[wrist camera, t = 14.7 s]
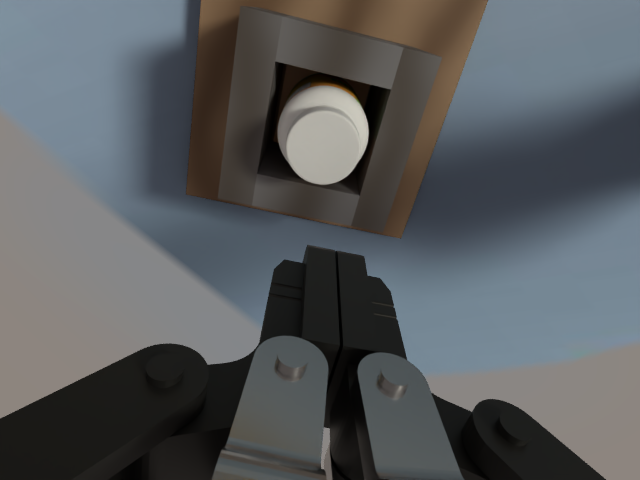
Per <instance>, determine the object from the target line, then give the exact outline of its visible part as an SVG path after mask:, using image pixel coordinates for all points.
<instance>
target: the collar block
mask: <svg viewBox="0 0 640 480" xmlns="http://www.w3.org/2000/svg"><path fill="white" fill-rule="evenodd" d="M487 2H488V0H201V7H200V20H199V33H198V46H197V59H196V72H195V85H194V98H193V110H192V123H191V136H190V149H189V162H188V175H187V188H186V194H187V195H192V196H197V197H201V198H206V199H211V200H216V201H221V202H226V203H231V204H235V205H240V206H245V207H250V208H255V209H260V210H265V211H270V212H274V213H279V214H284V215H289V216H294V217H299V218H304V219H308V220H313V221H318V222H323V223H328V224H333V225H338V226H343V227H347V228H352V229H357V230H362V231H367V232H372V233H377V234H381V235H386V236H391V237H396V238H401V237H402V234H403V232H404V229H405V226H406V224H407V221H408V218H409V215H410V213H411V210H412V207H413V204H414V202H415V199H416V196H417V193H418V191H419V188H420V185H421V183H422V180H423V177H424V174H425V172H426V169H427V166H428V163H429V161H430V158H431V155H432V152H433V150H434V147H435V144H436V142H437V139H438V136H439V133H440V131H441V128H442V125H443V122H444V120H445V117H446V114H447V111H448V109H449V106H450V103H451V101H452V98H453V95H454V92H455V90H456V87H457V84H458V81H459V79H460V76H461V73H462V70H463V68H464V65H465V62H466V60H467V57H468V54H469V51H470V49H471V46H472V43H473V40H474V38H475V35H476V32H477V29H478V27H479V24H480V21H481V19H482V16H483V13H484V10H485V8H486V5H487ZM287 64H289V65H293V66H297V67H301V68H305V69H309V70H313V71H317V72H321V73H325V74H329V75H334V76H338V77H342V78H346V79H350V80H354V81H358V82H362V83H366V84H370V87H369V91H368V95H367V99H366V102H365V106H364V113H365V115H366V119H367V122H368V130H369V135H368V143H367V146H366V149H365V152H364V154H363V156H362V157H361V159H360V160H359V162H358V163H357V165H356V166H355V168H354V169H353V171H352V172H351V173H350V174H349V175H348V176H347V177H345V178H344V179H342V180H340V181H338V182H336V183H332V184H326V185H319V184H314V183H311V182H308V181H306V180H304V179H302V178H301V177H300V176H298V175H297V174H296V173H295V172H294V170H293V169H292V167H291V166H290V164H289V163H288V162H287V160H286V159H285V157H284V156H283V154H282V152H281V149H280V146H279V143H277V142H273V140H274V135H275V129H276V123H277V117H278V112H279V106H280V100H281V95H282V89H283V83H284V77H285V72H286V66H287Z"/></svg>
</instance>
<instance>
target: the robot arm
mask: <svg viewBox="0 0 640 480" xmlns="http://www.w3.org/2000/svg"><path fill="white" fill-rule="evenodd" d="M393 306H394V304H393V300H392V296H391V291H390V290H389V289H388V288H387V286H386V285H385V284H384V283H383V281H382V280H381V279H380V278H377V277H372V276H367V270H366V264H365V258H364V256H361V255H356V254H351V253H346V252H341V251H336V252H335V250H331V249H326V248H321V247H316V246H311V245H307V247H306V251H305V255H304V259H303V263H299V262H294V261H289V260H283V261H282V262H281V263H280V264H279V265H278V266H277V267H276V268H275V269H274V272H273V277H272V282H271V287H270V291H269V296H268V301H267V306H266V311H265V316H264V321H263V326H262V331H261V337H260V342H259V344H258V346H257V347H256V349H255V350H254V351H253V352H252V353H250V354H249V355H248V356H246V357H244V358H242V359H240V360H237V361H233V362H229V363H222V364H211V365H207V363H206V361H205V360H204V358H203V357H202V356H201V355H200V354H199V353H198V352H196V351H195V350H193V349H191V348H189V347H186V346H183V345H178V344H159V345H153V346H150V347H147V348H144V349H142V350H140V351H137V352H135V353H133V354H131V355H129V356H127V357H125V358H123V359H121V360H119V361H117V362H115V363H113V364H111V365H109V366H107V367H105V368H103V369H101V370H99V371H97V372H95V373H93V374H91V375H89V376H86V377H85V378H82V379H80V380H78V381H76V382H74V383H72V384H70V385H68V386H66V387H64V388H62V389H60V390H58V391H56V392H54V393H52V394H50V395H48V396H46V397H44V398H42V399H39V400H38V401H35V402H33V403H31V404H29V405H27V406H25V407H23V408H21V409H19V410H17V411H15V412H13V413H11V414H9V415H7V416H5V417H3V418H1V419H0V480H606V479H604V478H603V477H602V476H601V475H600V474H599V473H597V472H596V471H595V470H594V469H593V468H591V467H590V466H589V465H587V463H585V462H584V461H583V460H582V459H581V458H580V457H578V456H577V455H576V454H575V453H573V452H572V451H571V450H570V449H569V448H568V447H566V446H565V445H564V444H563V443H562V442H560V441H559V440H558V439H557V438H556V437H554V436H553V435H552V434H551V433H550V432H548V431H547V430H546V429H545V428H543V427H542V426H541V425H540V424H539V423H538V422H537V421H535V420H534V419H533V418H532V417H531V416H529V415H528V414H527V413H525V412H524V411H522V410H521V409H519V408H518V407H516V406H514V405H512V404H510V403H507V402H504V401H501V400H495V399H487V400H483V401H481V402H479V403H478V404H477V405H476V406H475V408H474V410H473V411H472V412H471V411H468V410H466V409H464V408H462V407H459V406H457V405H455V404H452V403H450V402H448V401H445V400H443V399H441V398H439V397H437V396H436V395H434V394H433V393H431V391H430V388H429V386H428V383H427V381H426V379H425V377H424V376H423V374H422V373H421V372H420V371H419V369H418V368H417V367H415V366H414V365H413V364H412V363H410V362H409V361H407V357H406V353H405V349H404V345H403V341H402V337H401V333H400V328H399V324H398V320H397V319H396V317H397V316H396V312H395V308H393ZM324 427H326V428H330V444H329V447H328V449H327V452H326V455H325V459H324V469H321V453H322V441H323V429H324Z"/></svg>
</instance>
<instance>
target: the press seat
mask: <svg viewBox="0 0 640 480" xmlns="http://www.w3.org/2000/svg"><path fill="white" fill-rule="evenodd" d="M316 73H321V72H317V71H313V70H309V69H305V68H301V67H297V66H293V65H289V64H287V66H286V72H285V77H284V83H283V89H282V95H281V100H280V106H279V112H278V117H277V123H276V129H275V135H274V140H273V142H277V143H279V142H278V123H279V119H280V116H281V113H282V111H283V108H284V106H285V103H286V101H287V98H288V96H289V94H290V92H291V90H292V89H293V88H294V86H295V85H296V84H297V83H298V82H300V81H301V80H302V79H304V78H305V77H307V76H309V75H312V74H316ZM341 78H342V77H341ZM343 79H344V80H346V81H347V82H348V83H349V84H350V85H351V86H352V88H353V89H354V91H355V92H356V94H357V96H358V99H359V101H360V104H361V106H362V108H363V110H364V106H365V102H366V99H367V95H368V91H369V87H370V84H366V83H362V82H358V81H354V80H350V79H346V78H343Z"/></svg>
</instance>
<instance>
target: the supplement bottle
mask: <svg viewBox="0 0 640 480" xmlns="http://www.w3.org/2000/svg"><path fill="white" fill-rule="evenodd" d="M368 135H369V130H368V122H367V119H366V115H365V113H364V110H363V108H362V106H361V104H360V101H359V99H358V96H357V94H356V92H355V91H354V89H353V88H352V86H351V85H350V84H349V83H348V82H347V81H346V80H344V79H343V78H341V77H338V76H334V75H329V74H325V73H316V74H312V75H309V76H307V77H305V78H304V79H302V80H301V81H300V82H298V83H297V84H296V85H295V86H294V88H293V89H292V90H291V92H290V94H289V96H288V98H287V101H286V103H285V106H284V108H283V111H282V113H281V116H280V119H279V123H278V142H279V146H280V149H281V152H282V154H283V156H284V157H285V159H286V160H287V162H288V163H289V164H290V166H291V167H292V169H293V170H294V172H295V173H296V174H297V175H298V176H300V177H301V178H302V179H304V180H306V181H308V182H311V183H314V184H319V185H326V184H332V183H336V182H338V181H340V180H342V179H344V178H345V177H347V176H348V175H349V174H350V173H351V172H352V171H353V169H354V168H355V166H356V165H357V163H358V162H359V160H360V159H361V157H362V156H363V154H364V152H365V149H366V146H367V143H368Z"/></svg>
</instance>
